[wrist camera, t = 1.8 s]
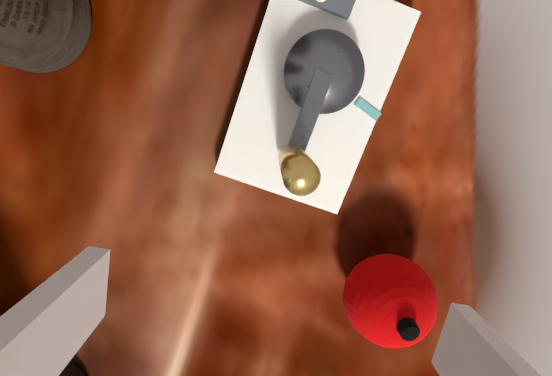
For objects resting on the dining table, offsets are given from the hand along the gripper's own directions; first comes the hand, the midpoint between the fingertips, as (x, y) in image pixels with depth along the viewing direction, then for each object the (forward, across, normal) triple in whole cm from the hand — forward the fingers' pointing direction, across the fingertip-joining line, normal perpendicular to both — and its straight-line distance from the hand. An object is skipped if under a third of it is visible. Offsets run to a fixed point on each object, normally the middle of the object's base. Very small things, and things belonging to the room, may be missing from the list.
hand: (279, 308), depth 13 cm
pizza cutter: (+21, +2, +8) cm, 23 cm away
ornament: (+24, +14, -9) cm, 29 cm away
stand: (+23, +2, +9) cm, 25 cm away
